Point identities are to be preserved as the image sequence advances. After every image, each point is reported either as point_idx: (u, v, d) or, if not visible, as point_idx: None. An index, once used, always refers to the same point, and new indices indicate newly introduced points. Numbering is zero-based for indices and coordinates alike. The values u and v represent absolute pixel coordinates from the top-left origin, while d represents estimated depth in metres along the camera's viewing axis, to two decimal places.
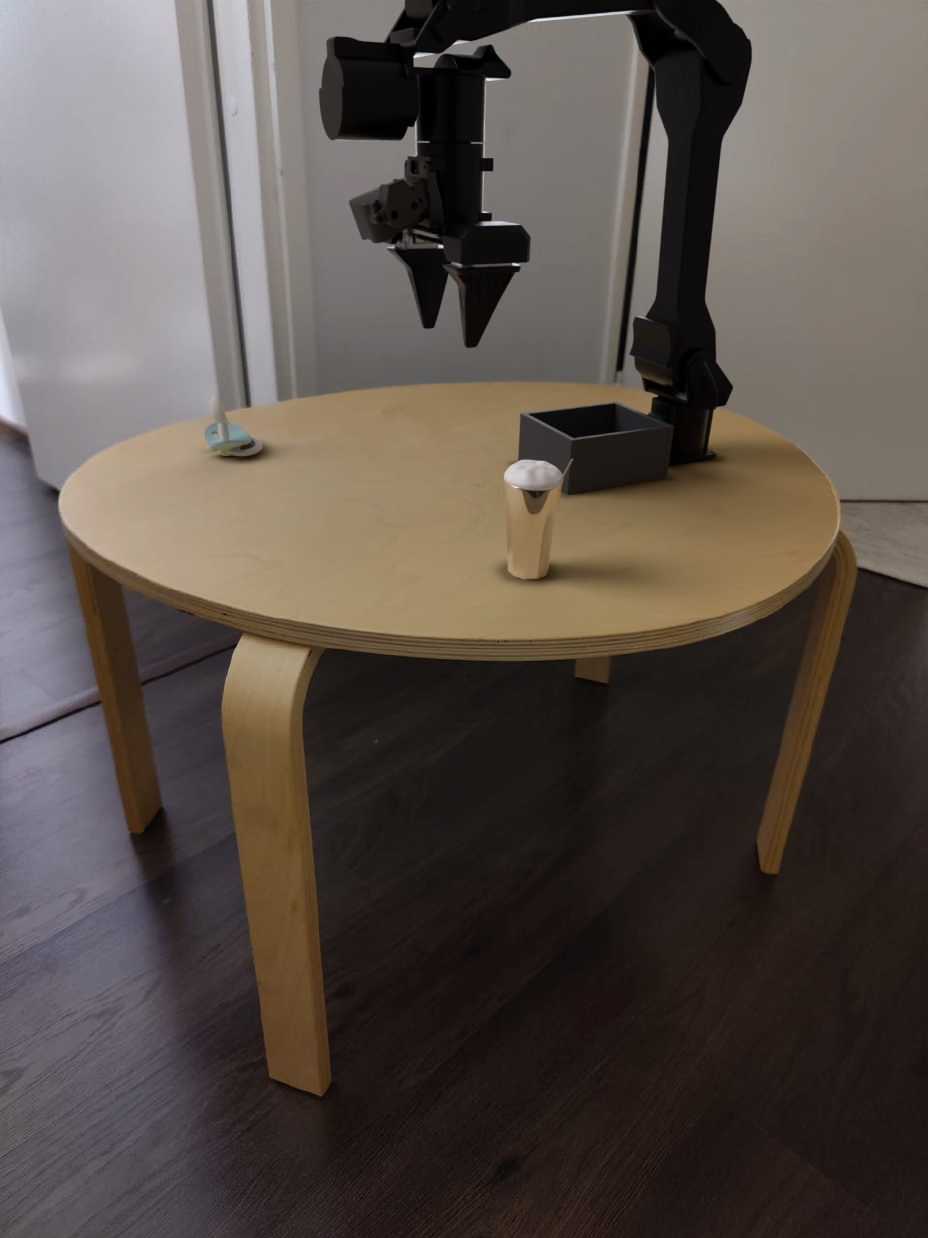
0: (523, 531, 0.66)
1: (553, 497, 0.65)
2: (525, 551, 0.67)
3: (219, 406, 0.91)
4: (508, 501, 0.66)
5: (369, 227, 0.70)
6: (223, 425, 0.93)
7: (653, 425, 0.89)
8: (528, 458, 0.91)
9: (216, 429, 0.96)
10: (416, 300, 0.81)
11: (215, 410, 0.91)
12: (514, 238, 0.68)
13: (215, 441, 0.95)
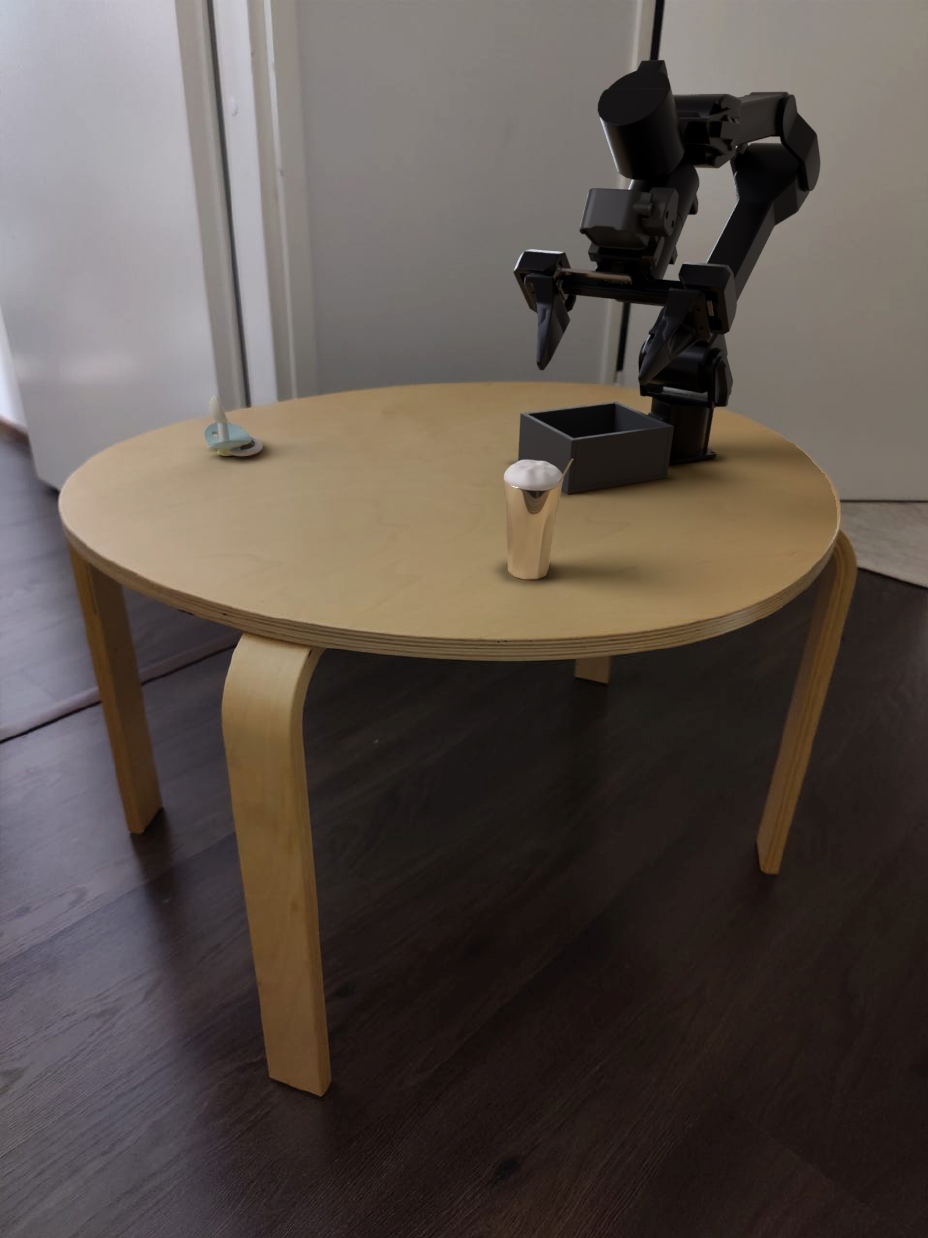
0: (523, 531, 0.66)
1: (553, 497, 0.65)
2: (525, 551, 0.67)
3: (219, 406, 0.91)
4: (508, 501, 0.66)
5: (626, 213, 0.66)
6: (223, 425, 0.93)
7: (653, 425, 0.89)
8: (528, 458, 0.91)
9: (216, 429, 0.96)
10: (541, 335, 0.74)
11: (214, 410, 0.91)
12: (735, 303, 0.71)
13: (215, 441, 0.95)
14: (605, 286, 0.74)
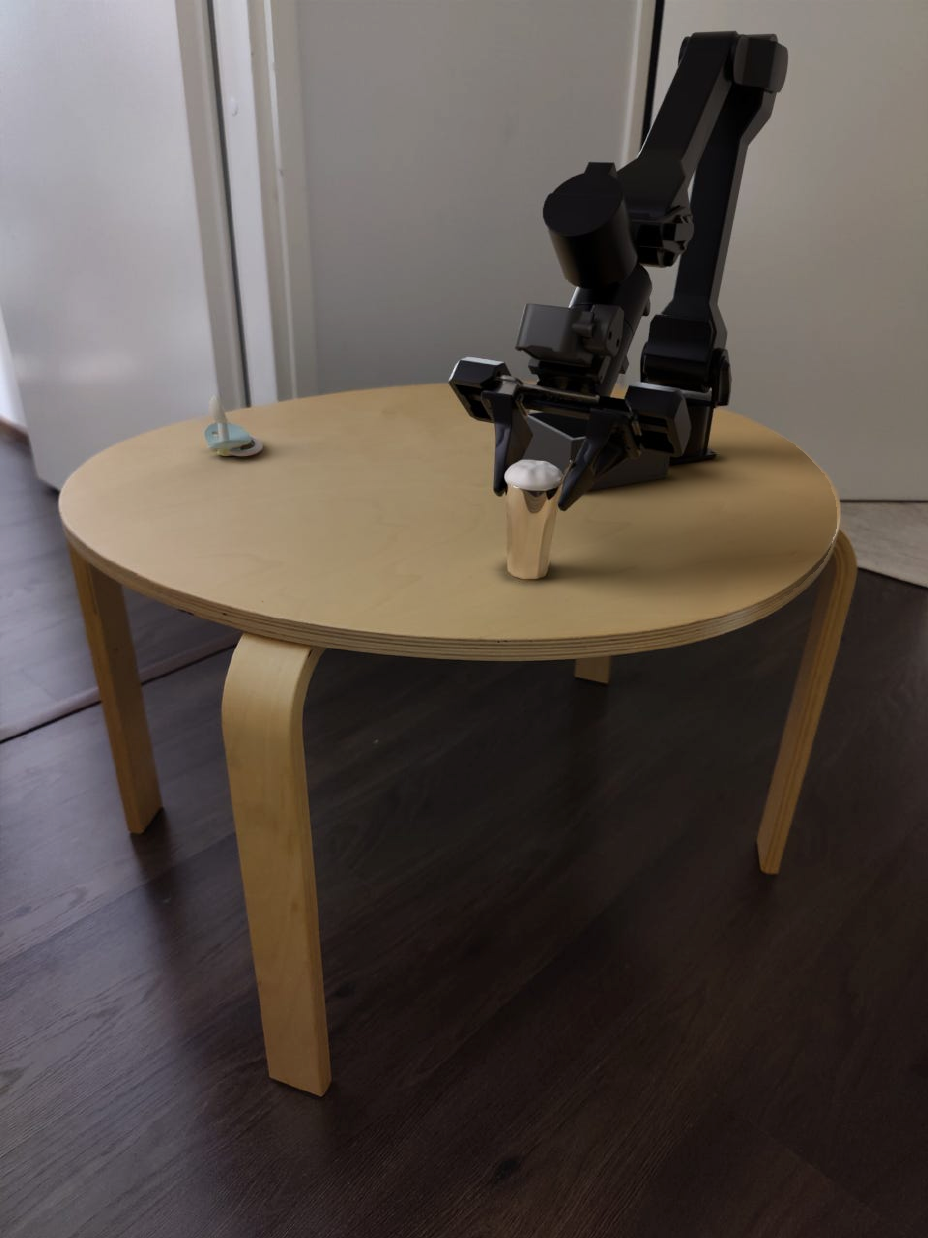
0: (523, 531, 0.66)
1: (553, 497, 0.65)
2: (525, 551, 0.67)
3: (219, 406, 0.91)
4: (508, 501, 0.66)
5: (564, 334, 0.60)
6: (223, 425, 0.93)
7: None
8: (528, 458, 0.91)
9: (216, 429, 0.96)
10: (498, 458, 0.67)
11: (214, 410, 0.91)
12: (688, 426, 0.64)
13: (215, 441, 0.95)
14: (548, 401, 0.67)
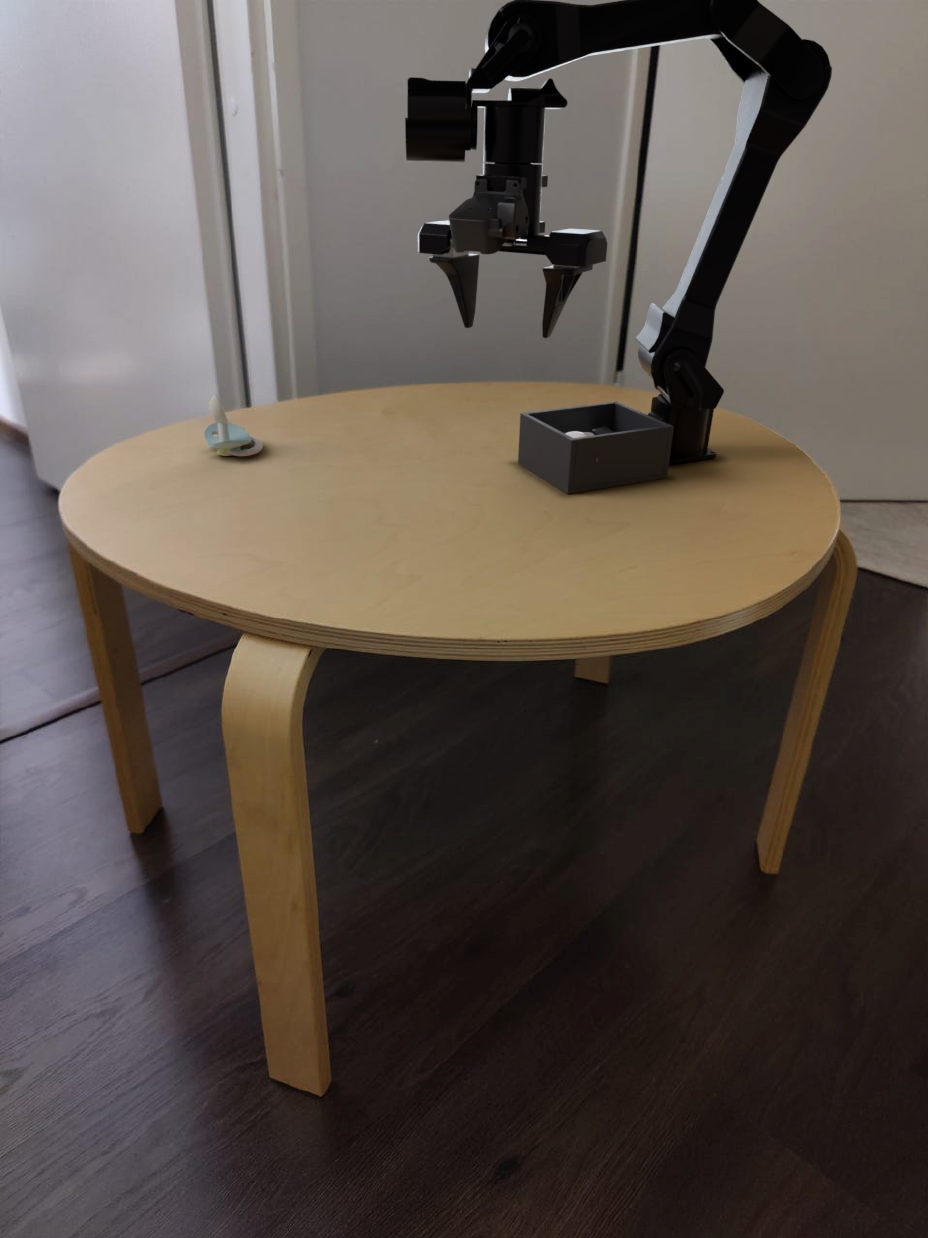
0: None
1: None
2: None
3: (219, 406, 0.91)
4: None
5: (484, 240, 0.79)
6: (223, 425, 0.93)
7: (653, 425, 0.89)
8: (528, 458, 0.91)
9: (216, 429, 0.96)
10: (459, 303, 0.90)
11: (214, 410, 0.91)
12: (602, 242, 0.82)
13: (215, 441, 0.95)
14: None
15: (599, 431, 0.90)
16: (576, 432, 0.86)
